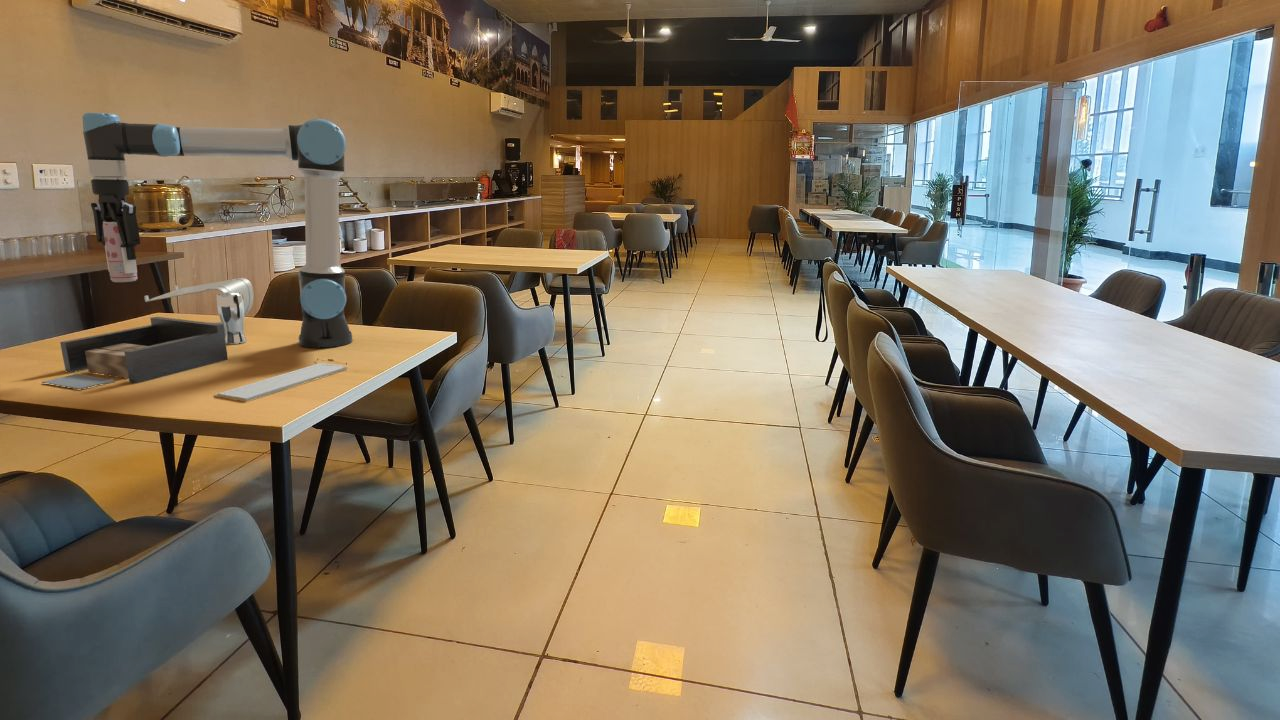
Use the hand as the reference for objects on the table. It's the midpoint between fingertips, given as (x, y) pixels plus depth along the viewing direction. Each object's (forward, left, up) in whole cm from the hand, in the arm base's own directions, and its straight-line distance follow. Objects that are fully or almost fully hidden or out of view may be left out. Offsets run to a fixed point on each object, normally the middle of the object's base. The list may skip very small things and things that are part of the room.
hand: (122, 271), depth 186 cm
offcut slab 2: (0, +7, -26) cm, 27 cm away
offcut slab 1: (0, +3, -26) cm, 26 cm away
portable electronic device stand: (+26, -41, -26) cm, 55 cm away
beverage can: (0, 0, -3) cm, 3 cm away
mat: (0, +15, -26) cm, 30 cm away
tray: (0, -4, -26) cm, 26 cm away
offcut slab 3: (0, 0, -26) cm, 26 cm away
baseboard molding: (-45, -5, -26) cm, 52 cm away
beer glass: (+3, -32, -26) cm, 41 cm away
